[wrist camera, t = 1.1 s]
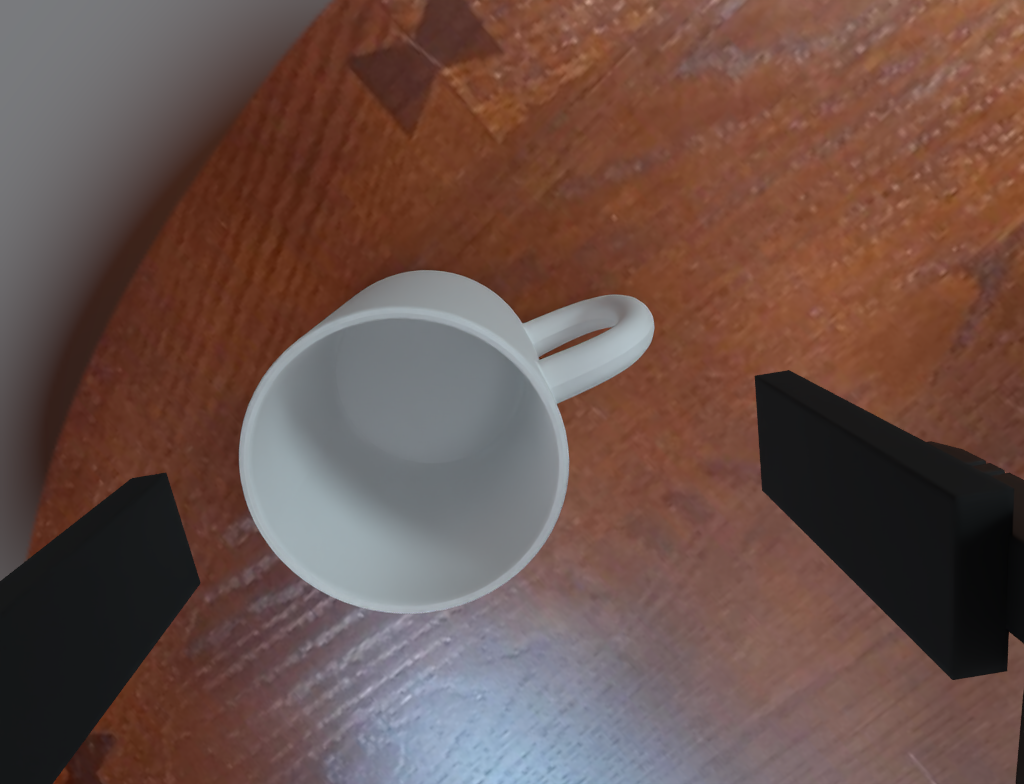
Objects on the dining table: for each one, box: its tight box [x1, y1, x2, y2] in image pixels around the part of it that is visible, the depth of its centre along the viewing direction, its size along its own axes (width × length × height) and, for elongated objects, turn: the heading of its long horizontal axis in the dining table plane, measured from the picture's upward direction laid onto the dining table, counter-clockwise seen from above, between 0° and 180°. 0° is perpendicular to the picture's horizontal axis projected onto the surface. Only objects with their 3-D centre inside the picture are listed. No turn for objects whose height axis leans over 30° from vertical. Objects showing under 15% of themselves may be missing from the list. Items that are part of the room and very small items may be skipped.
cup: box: [239, 270, 654, 614], centre depth 22 cm, size 8×12×10 cm
